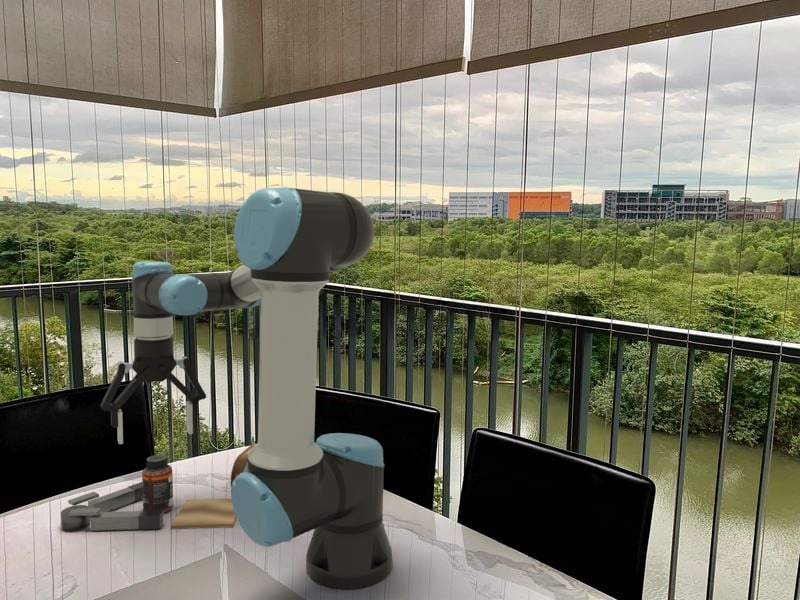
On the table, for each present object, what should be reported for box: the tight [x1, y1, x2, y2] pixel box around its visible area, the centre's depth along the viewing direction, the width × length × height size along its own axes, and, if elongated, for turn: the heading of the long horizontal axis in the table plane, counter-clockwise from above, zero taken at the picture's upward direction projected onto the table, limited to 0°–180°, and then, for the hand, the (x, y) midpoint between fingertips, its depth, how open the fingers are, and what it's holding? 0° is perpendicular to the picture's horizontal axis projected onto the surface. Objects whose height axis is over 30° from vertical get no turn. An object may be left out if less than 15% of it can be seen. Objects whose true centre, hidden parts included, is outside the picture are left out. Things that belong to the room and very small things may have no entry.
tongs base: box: [60, 504, 165, 533], centre depth 120 cm, size 5×20×4 cm, turn 95°
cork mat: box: [170, 498, 237, 530], centre depth 126 cm, size 12×12×1 cm
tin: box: [230, 444, 256, 488], centre depth 141 cm, size 15×3×8 cm, turn 172°
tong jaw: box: [67, 481, 143, 517], centre depth 128 cm, size 17×3×4 cm, turn 145°
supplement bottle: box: [141, 454, 174, 514], centre depth 127 cm, size 6×6×11 cm
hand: (155, 437), depth 126 cm, fingers open, 13 cm apart
